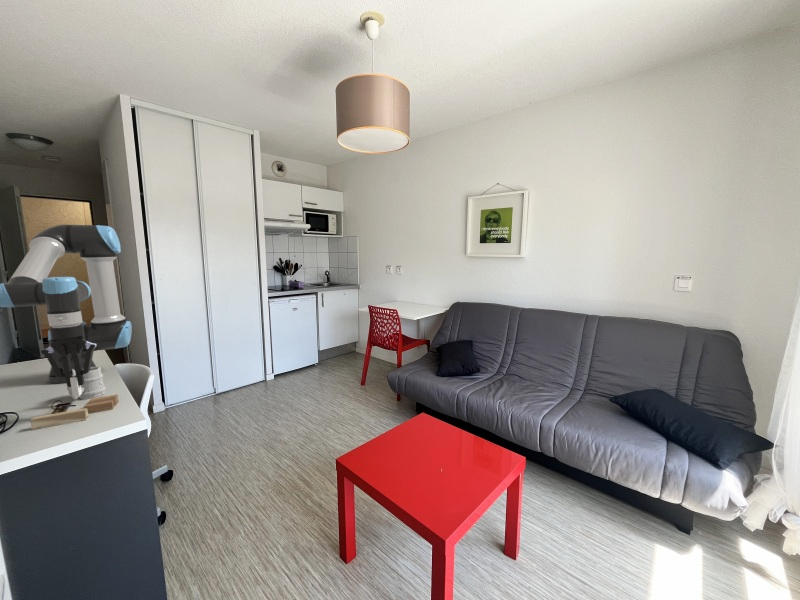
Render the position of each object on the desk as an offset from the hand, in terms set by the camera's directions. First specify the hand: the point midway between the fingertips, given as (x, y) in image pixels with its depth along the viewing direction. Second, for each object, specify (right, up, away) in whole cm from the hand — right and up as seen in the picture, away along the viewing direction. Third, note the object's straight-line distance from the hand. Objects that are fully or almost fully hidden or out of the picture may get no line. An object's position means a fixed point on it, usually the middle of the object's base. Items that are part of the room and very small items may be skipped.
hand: (77, 395), depth 107 cm
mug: (-8, -4, +11) cm, 15 cm away
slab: (+6, -5, +3) cm, 8 cm away
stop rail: (+3, -6, -8) cm, 10 cm away
